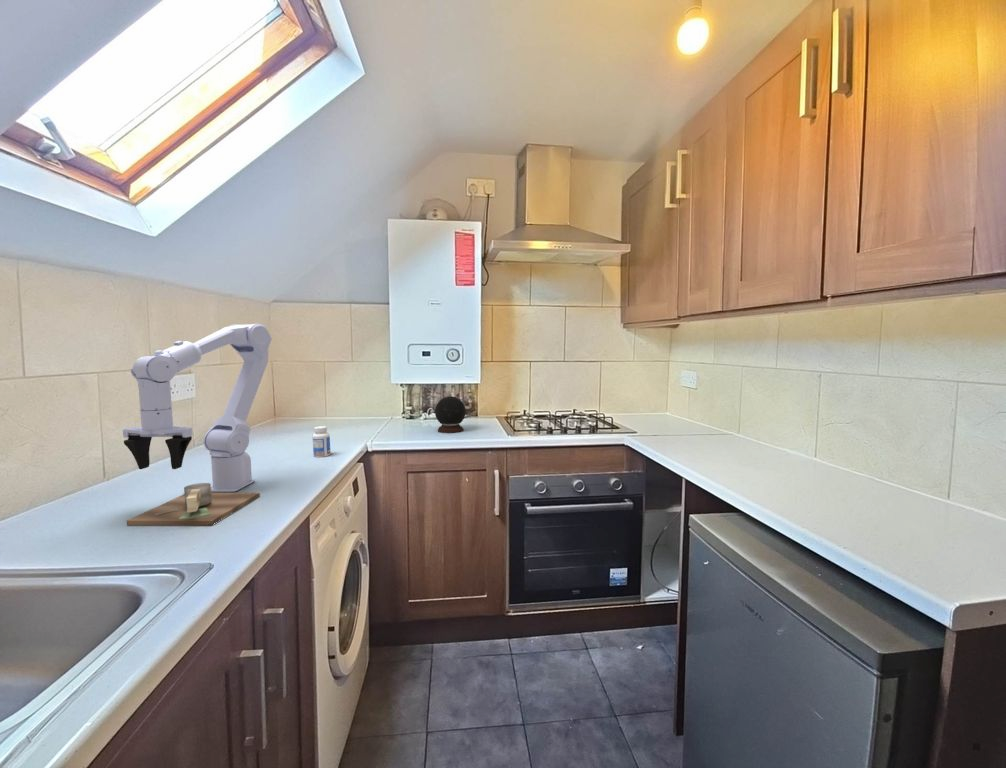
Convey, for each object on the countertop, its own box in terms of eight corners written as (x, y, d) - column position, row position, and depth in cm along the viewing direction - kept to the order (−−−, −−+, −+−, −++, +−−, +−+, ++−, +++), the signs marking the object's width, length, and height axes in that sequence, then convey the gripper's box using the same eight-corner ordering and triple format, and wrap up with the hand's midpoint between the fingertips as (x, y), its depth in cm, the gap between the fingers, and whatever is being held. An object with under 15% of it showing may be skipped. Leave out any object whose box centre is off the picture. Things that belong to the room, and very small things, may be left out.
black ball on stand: (435, 434, 190) (434, 398, 189) (435, 428, 203) (434, 395, 202) (467, 433, 192) (466, 397, 191) (464, 427, 205) (464, 394, 204)
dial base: (187, 496, 113) (187, 491, 113) (259, 496, 112) (259, 491, 112) (126, 525, 95) (126, 519, 95) (212, 525, 94) (211, 519, 94)
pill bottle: (325, 452, 158) (324, 425, 157) (333, 455, 155) (332, 426, 154) (310, 455, 154) (309, 427, 153) (318, 458, 150) (317, 429, 150)
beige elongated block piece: (187, 501, 105) (186, 484, 104) (212, 498, 107) (211, 481, 106) (177, 518, 94) (176, 499, 94) (206, 514, 97) (205, 496, 96)
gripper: (109, 411, 99) (114, 472, 100) (174, 411, 99) (179, 472, 100) (135, 407, 106) (140, 464, 107) (197, 407, 106) (200, 464, 107)
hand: (160, 468), depth 104 cm, fingers open, 7 cm apart
